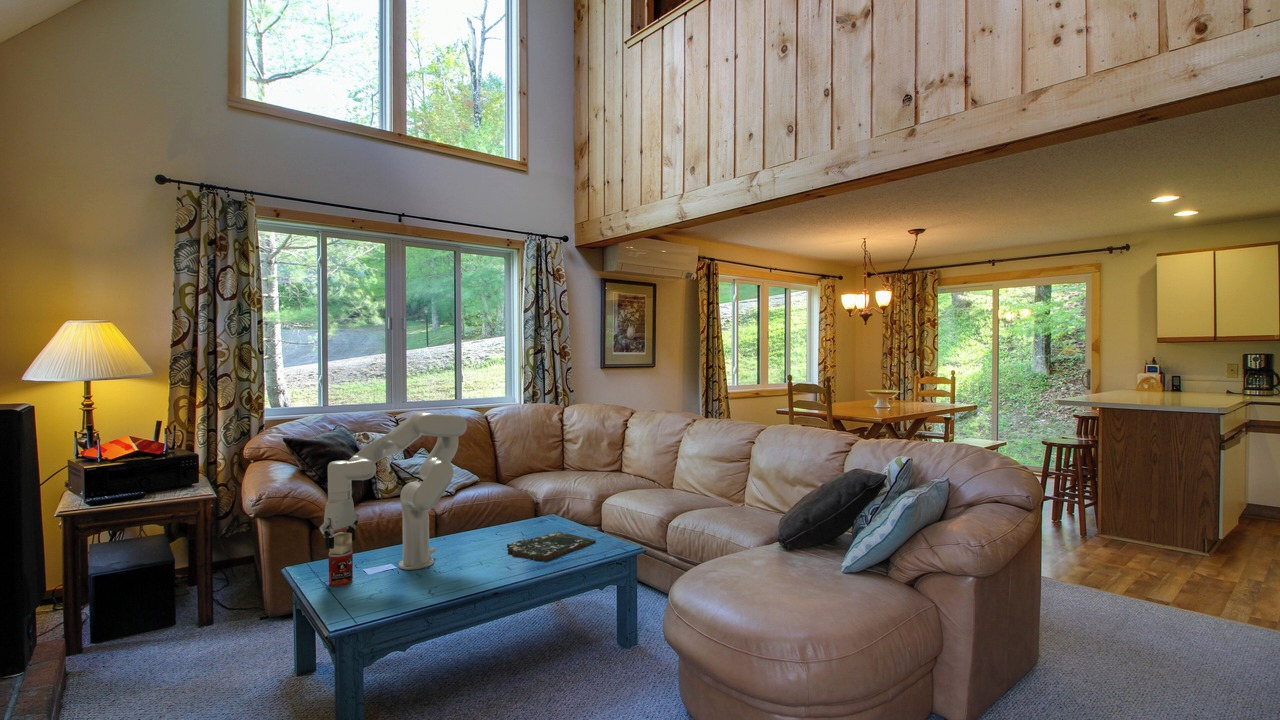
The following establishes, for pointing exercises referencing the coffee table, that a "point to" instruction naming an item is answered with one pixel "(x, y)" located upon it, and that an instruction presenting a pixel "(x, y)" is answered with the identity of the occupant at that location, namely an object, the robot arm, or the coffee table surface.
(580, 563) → the coffee table surface
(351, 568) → the canned food
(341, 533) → the beech block
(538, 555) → the topographical map
